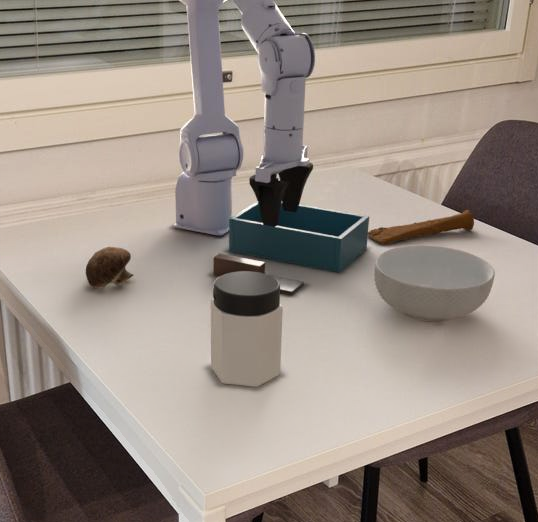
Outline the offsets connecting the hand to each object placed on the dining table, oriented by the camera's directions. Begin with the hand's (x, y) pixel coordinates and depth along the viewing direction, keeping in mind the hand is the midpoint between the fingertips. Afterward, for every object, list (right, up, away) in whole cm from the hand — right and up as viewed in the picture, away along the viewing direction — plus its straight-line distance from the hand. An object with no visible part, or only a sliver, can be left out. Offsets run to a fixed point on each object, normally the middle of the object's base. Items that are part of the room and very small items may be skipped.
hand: (280, 217), depth 146 cm
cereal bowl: (+22, -15, -6) cm, 27 cm away
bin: (+3, -2, +14) cm, 14 cm away
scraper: (-4, -9, +2) cm, 10 cm away
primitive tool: (+25, +2, +21) cm, 33 cm away
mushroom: (-26, -10, -1) cm, 28 cm away
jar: (-5, -26, -24) cm, 36 cm away
